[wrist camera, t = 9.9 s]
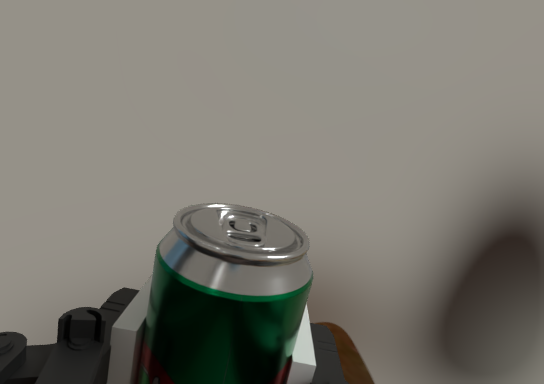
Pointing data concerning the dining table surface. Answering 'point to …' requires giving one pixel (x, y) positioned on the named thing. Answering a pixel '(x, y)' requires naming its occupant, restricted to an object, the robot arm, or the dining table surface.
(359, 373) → the dining table surface
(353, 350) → the dining table surface
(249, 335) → the soda can
